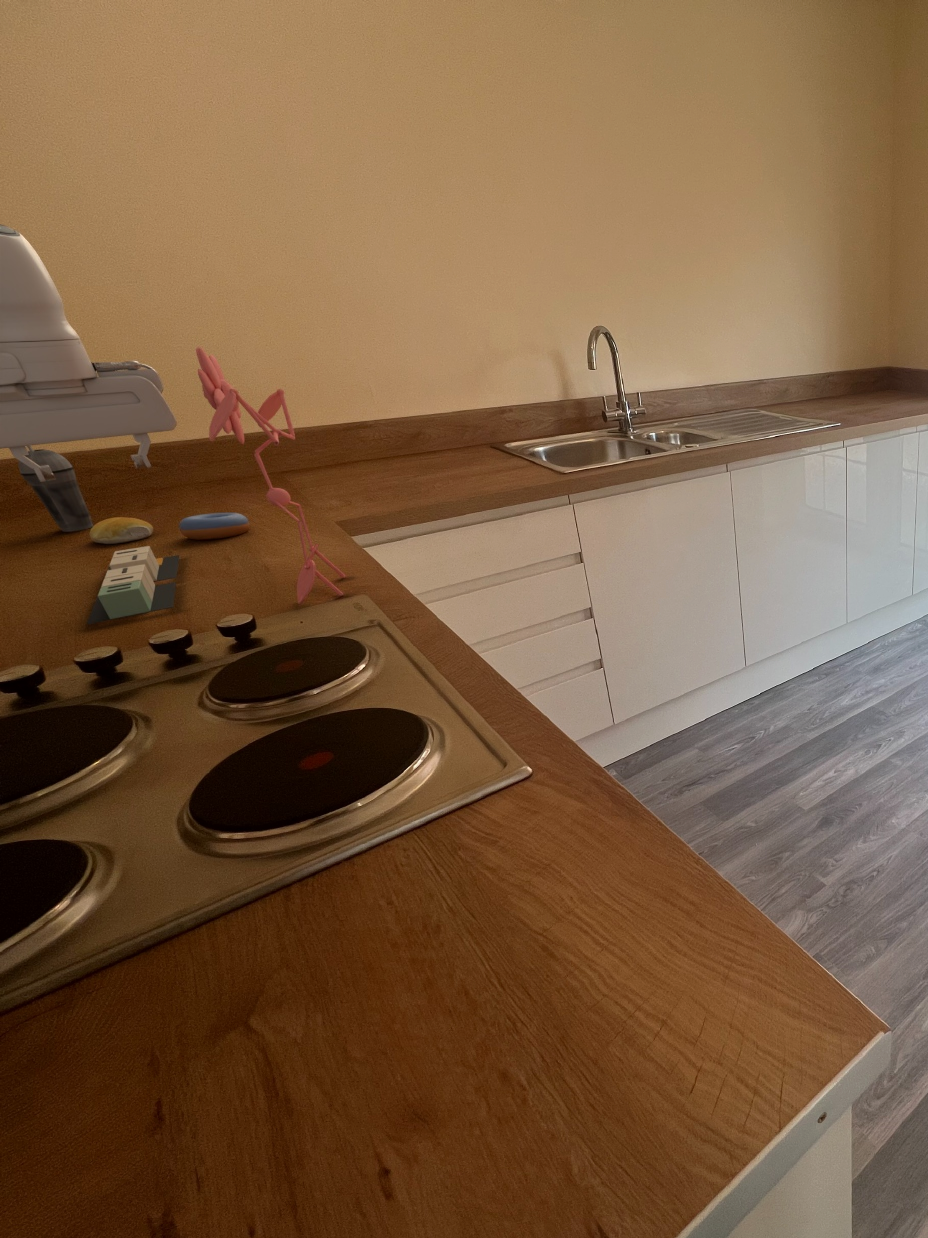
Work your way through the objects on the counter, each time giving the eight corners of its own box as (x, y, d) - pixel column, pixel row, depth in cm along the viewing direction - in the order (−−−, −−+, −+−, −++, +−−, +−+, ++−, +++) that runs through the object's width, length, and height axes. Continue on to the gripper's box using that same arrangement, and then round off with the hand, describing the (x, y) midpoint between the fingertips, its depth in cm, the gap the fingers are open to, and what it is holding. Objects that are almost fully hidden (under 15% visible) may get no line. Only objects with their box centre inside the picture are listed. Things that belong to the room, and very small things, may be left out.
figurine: (353, 561, 119) (275, 341, 104) (347, 612, 100) (250, 349, 84) (241, 579, 112) (139, 345, 97) (210, 638, 93) (76, 355, 77)
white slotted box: (113, 609, 100) (100, 585, 99) (116, 601, 103) (103, 577, 101) (152, 602, 103) (140, 578, 101) (153, 594, 105) (142, 571, 104)
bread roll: (135, 530, 138) (126, 510, 136) (163, 534, 135) (154, 514, 133) (82, 542, 131) (71, 522, 129) (110, 547, 128) (99, 526, 126)
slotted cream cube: (120, 586, 108) (108, 564, 107) (122, 579, 111) (111, 557, 110) (156, 580, 111) (145, 558, 109) (158, 573, 114) (147, 551, 112)
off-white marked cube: (123, 579, 111) (111, 557, 110) (125, 572, 114) (114, 550, 113) (158, 572, 114) (147, 551, 112) (159, 566, 117) (149, 545, 115)
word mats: (88, 628, 96) (85, 623, 96) (110, 570, 117) (108, 566, 117) (174, 610, 101) (172, 606, 101) (180, 558, 122) (179, 554, 122)
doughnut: (239, 526, 139) (230, 504, 137) (262, 534, 134) (252, 511, 132) (177, 540, 131) (166, 517, 129) (198, 548, 127) (187, 524, 125)
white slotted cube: (116, 600, 103) (104, 577, 102) (118, 592, 106) (106, 569, 105) (154, 593, 106) (142, 570, 104) (155, 585, 109) (144, 563, 107)
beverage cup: (112, 524, 142) (60, 423, 133) (67, 534, 136) (10, 429, 127) (87, 521, 144) (35, 422, 135) (42, 532, 137) (-16, 428, 128)
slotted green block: (110, 619, 97) (96, 595, 95) (113, 610, 100) (100, 586, 98) (150, 611, 99) (138, 587, 98) (152, 602, 102) (140, 579, 101)
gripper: (148, 358, 97) (191, 458, 104) (-79, 370, 84) (-14, 484, 90) (156, 360, 94) (200, 463, 100) (-81, 373, 80) (-12, 492, 86)
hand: (97, 473), depth 95 cm, fingers open, 8 cm apart
